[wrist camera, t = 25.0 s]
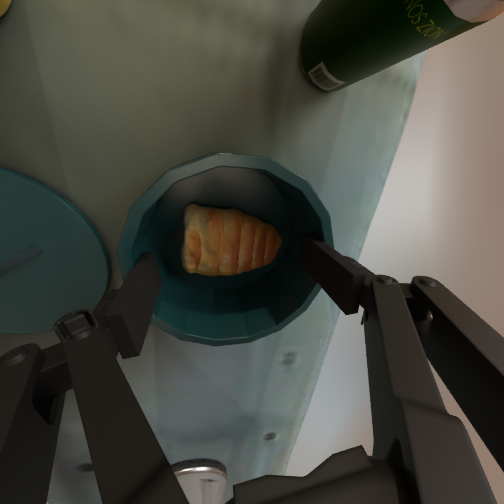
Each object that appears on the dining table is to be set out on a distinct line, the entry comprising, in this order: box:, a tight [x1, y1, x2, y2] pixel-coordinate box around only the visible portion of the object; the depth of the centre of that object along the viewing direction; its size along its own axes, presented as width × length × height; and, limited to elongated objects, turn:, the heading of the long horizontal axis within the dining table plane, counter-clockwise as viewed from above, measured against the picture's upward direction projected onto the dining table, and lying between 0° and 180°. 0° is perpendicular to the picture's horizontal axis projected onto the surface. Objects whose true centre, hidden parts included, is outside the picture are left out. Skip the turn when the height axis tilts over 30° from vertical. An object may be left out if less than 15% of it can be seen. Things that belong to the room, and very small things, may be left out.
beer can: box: [300, 0, 504, 92], centre depth 11 cm, size 5×5×12 cm
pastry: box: [181, 204, 282, 277], centre depth 19 cm, size 9×7×4 cm
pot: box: [117, 152, 334, 346], centre depth 18 cm, size 14×14×8 cm
